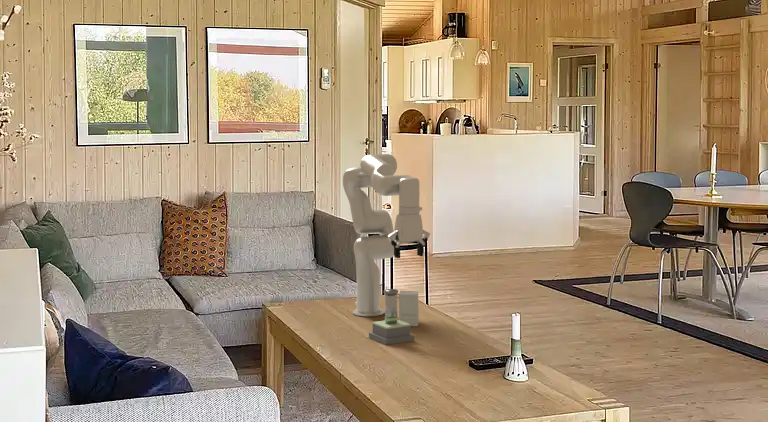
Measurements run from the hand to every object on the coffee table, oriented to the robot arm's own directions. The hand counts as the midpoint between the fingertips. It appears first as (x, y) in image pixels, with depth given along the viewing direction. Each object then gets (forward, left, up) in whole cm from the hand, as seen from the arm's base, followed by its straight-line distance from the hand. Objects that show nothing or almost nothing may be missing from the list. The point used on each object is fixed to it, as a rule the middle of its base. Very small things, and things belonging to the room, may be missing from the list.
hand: (408, 256), depth 362 cm
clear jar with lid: (+6, -11, -23) cm, 26 cm away
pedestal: (+6, -11, -29) cm, 31 cm away
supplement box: (-11, +7, -29) cm, 32 cm away
